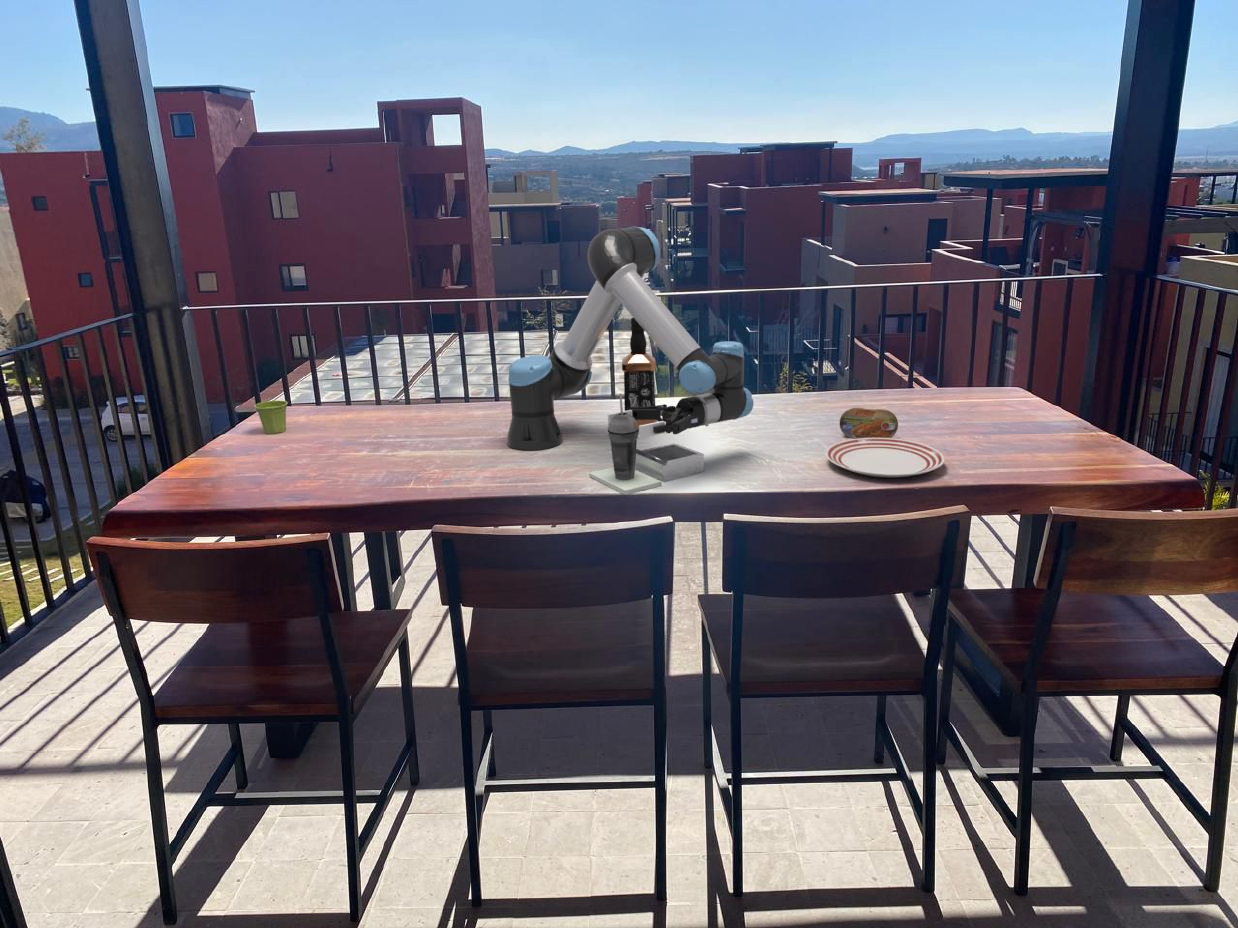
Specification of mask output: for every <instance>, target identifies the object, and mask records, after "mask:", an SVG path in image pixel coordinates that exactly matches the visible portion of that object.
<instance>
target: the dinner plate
mask: <svg viewBox="0 0 1238 928" xmlns="http://www.w3.org/2000/svg"><path fill="white" fill-rule="evenodd" d="M825 457H826V458H827V459H828V460H829V462H830V463H832V464H834V465H836V466H838V467H840V468H843V469H844V470H848V471H850V472H853V473H857V474H859V475H864V476H869V477H874V478H884V479H885V478H892V479H893V478H894V479H895V478H896V479H897V478H906V477H912V476H919V475H922V474H926V473H929V472H931V471H935V470H936V469H939V468H940V467H942V466H944V463H945V460H946V459H945V456H944V454H943V453H942V452H941V451H939V450H938V449H936V448H934V447H932V446H930V445H927V444H925V443H921V442H917V441H913V440H908V439H901V438H893V437H892V438H859V439H852V438H850V439H847V440H842V441H841V440H840V441H838V442H836V443H834V444H831V445H830V446H829V447H827V449H826V450H825Z"/></svg>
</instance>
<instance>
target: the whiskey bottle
mask: <svg viewBox="0 0 1238 928" xmlns="http://www.w3.org/2000/svg"><path fill="white" fill-rule="evenodd" d="M630 324H631V325H630V327H631V328H630V330H631V335H630V340H629V347H630V353H628V354H627V355H626V356H625V357H623V358H622V359H621V370H622V372H623V384H624V385H623V386H624V387H623V392H624V393H623V395H624V397H623V398H624V402H623V404H624V405H623V406H624V411H627V410H628V407H641V406H656V393H655V392H656V390H655V387H656V386H655V370H656V367H657V366H656V358H655V356H653V355H652V354H649V353H648V352H647V345H648V344H647V340H646V336H645V330H644V329H643V328H642V327H641V326H640V324H639V323H638V322H637V321H636V320H635V318H634V317H633V316H632V317H631V319H630ZM636 422H637V425H638V429H639V426H640V425H645V424H650V423H655V422H658V421H657V420H636ZM638 433H639V431H638Z"/></svg>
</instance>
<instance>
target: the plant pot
mask: <svg viewBox="0 0 1238 928" xmlns="http://www.w3.org/2000/svg"><path fill="white" fill-rule="evenodd" d="M253 406H254V408H255V410H256V412H257V414H258V416H259V419H260V422H261V425H262V429H263V432H264V433H265V434H266V435H276V434H277V433H280V434H281V433H284V432H286V431H287V412H286V411H287V406H288V401H287V400H268V401H263V402H257V403H256V404H254V405H253Z"/></svg>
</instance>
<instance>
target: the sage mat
mask: <svg viewBox="0 0 1238 928" xmlns="http://www.w3.org/2000/svg"><path fill="white" fill-rule="evenodd" d="M588 475H589V476H590V477H589V476H588V477H589V478H591V477H592V478H591V479H593V478H594V479H593V480H595V479H596V480H595V481H597V480H598V481H597V482H599V481H600V482H599V483H601V482H602V483H601V484H603V483H604V484H603V485H605V484H606V485H605V486H607V485H608V486H607V487H609V488H611V489H613V490H615V491H617V492H619V493H621V494H623V495H625V496H626V495H627V496H628V495H630V494H633V493H634V494H635V493H638V492H642V491H645V490H650V489H654V488H658V487H661V486H662V481H661V480H658V479H656V478H654V477H652V476H649V475H647V474H645V473H643V472H640V471H638V470H636V469H635V474H634V478H633V479H630V480H618V479H616V478H615V472H614V466H613V467H609V468H605V469H601V470H597V471H591V472H589V473H588Z"/></svg>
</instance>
